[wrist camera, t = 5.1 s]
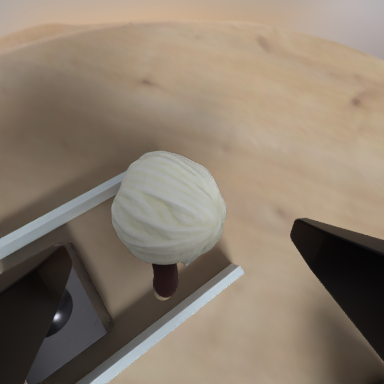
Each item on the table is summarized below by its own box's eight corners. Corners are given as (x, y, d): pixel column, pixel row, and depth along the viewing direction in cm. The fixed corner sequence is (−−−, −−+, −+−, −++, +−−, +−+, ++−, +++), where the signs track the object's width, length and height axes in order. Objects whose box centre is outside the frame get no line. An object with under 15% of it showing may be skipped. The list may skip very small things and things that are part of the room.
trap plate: (46, 372, 13) (29, 390, 12) (5, 281, 14) (-15, 286, 13) (113, 323, 14) (106, 333, 13) (71, 243, 15) (59, 242, 14)
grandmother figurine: (145, 189, 17) (85, 58, 5) (187, 187, 18) (226, 64, 6) (146, 281, 15) (56, 427, 3) (194, 277, 16) (274, 387, 4)
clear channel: (46, 418, 13) (24, 449, 11) (-21, 262, 14) (-50, 265, 13) (235, 269, 16) (244, 272, 14) (163, 161, 18) (162, 151, 16)
